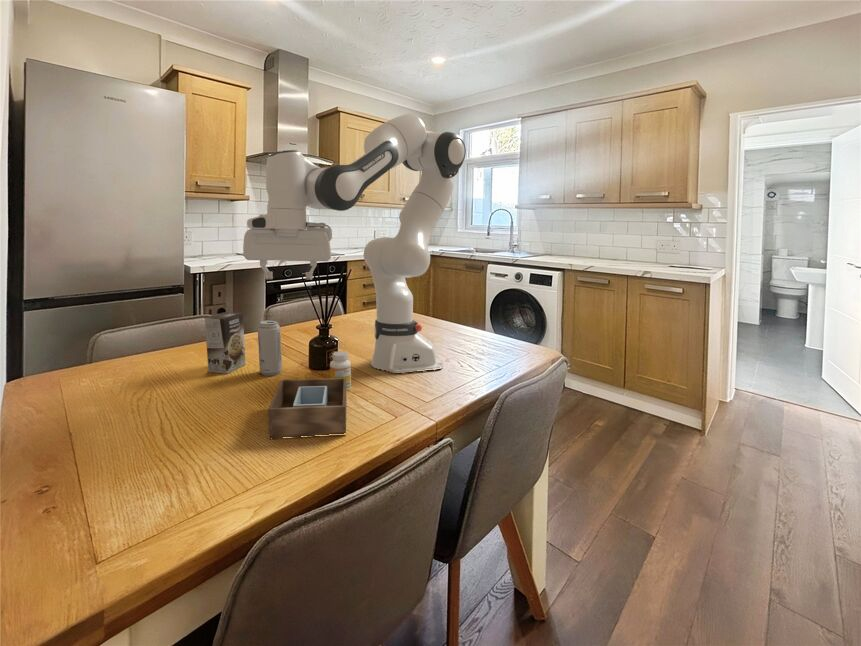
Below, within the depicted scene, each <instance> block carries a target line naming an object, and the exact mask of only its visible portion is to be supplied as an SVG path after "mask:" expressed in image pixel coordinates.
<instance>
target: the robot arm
mask: <svg viewBox="0 0 861 646" xmlns="http://www.w3.org/2000/svg"><path fill="white" fill-rule="evenodd" d="M363 142H364V143H363V150H364V154H363V155H361V156H360V157H359V158H357V159H356V160H354V161H352V162H351V163H349V164H337V165H332V166H328V167H320V166H318V165H316V164H315V163H313V162H311V161H310V160H308V158H306V157H305V156H304V155H303V154H302V152H301V151H299V150H297V149H296V150H295V149H289V150H286V149H285V150H279V151H275V152H272V153H271V154H269V155H268V156H267V159H266V160H267V161H266V168H265V169H266V170H265V188H266V189H265V190H266V193H267V197H268V198H267V199H268V202H267V206H266V211H267V213H266V214H261V215H258V216H255V217H251V218H248V219H247V220H246V226H247V228H249V229H247V230H246V231H245V233H244V236H243V243H242V244H243V245H242V246H243V247H242V249H243V251H242V252H243V253H242V254H243V257H244V258H245V260H246V261H259V265H260V267H261V269H262V271H263V272H264V274H265V277H264V279H265V280H273V279H274V276H273V271H270V270H269V269H268V266H266V265H268V262H269V261H275V262H277V261H279V262H280V261H283V262H284V261H285V262H309V265H310V266H311V269H310V270H309V271H306V272H305V280H306V281H310V280H311V281H312V280H313V273H314V271H315V269H316V267H317V265H318V264H317V263H318V262H329V261H330V260H331V258H332V251H331V250H332V249H331V243H330V241H331V240H332V239H333V230H332V228H331V226H330V225H328V224H326V222H311V221H310V222H307V207H309V208H310V209H313V210H314V209H315V210H334V211H339V212H342V211H343V212H344V211H348V210H350V209H352V208H353V207H354V206H355V205H356V204H357V203H358V201H359V200H360V198H361V196H362V195H363V193H364V192H365V190H366V189H367V188H368V187H369V186H371V185H372V184H373V183H375V181H377V180H378V179H379V178H381V177H382V176H384V175H385V174H386V173H387V172H389V171H390V170H392V169H394V168H396V167H397V166H399V165H401V164H402V165H404V167H405V168H406V169H408V170H410V171H414V172H421V175H420V179H419V182H418V184H417V185H416V186H415V188H414V189H413V191H412V192H411V194H410V196H409V197H408V199H407V201H406V203H405V204H404V206H403V207H402V209H401V211H400V213H399V215H398V220H399V222H400V226H399V230H398V232H397V234H396V235H395V237H390V236H389V237H387V236H382V237H377V238H374V239H371V240H370V241H369V242H367V244H365V245H366V246H365V247H364V249H363V260H364V262H365V264H366V265H367V267H368V268H369V270H370V274H371V277H372V282H373V285H374V289H375V297H376V298H375V299H376V300H375V301H376V305H375V306H376V319H375V322H374V338H375V342H374V349H373V356H372V360H371V362H370V365H371V367H373V368H374V369H376V368H377V370H379V369H381V370H380V371H384V370H387V371H386V372H388V371H390V372H389V373H391V372H393V373H392V374H394V373H402V372H410V371H417V370H425V369H433V368H440V367H442V366H443V367H444V361H443V359H442V358H441V357H440V356H438V355H437V351H436V348H435V345H434V344H433V342H431V341H430V340H429V339H428V338H426V336H424V335H422V334H421V333H420V332H421V331H422V330H423V326H422V325H421V323H419V322H418V321H416V320H415V319H413V316H414V314H413V313H414V312H413V311H414V310H413V308H414V295H413V292H412V291H411V290H410V289H409V287H408V284H407V281H406V278H416V277H420V276H422V275H424V274H425V273H426V272H427V271H428V269H429V267H430V266H431V265H430V264H431V253H430V251H429V242H430V239H431V235H432V233H433V231H434V229H435V228H436V226H437V223H438V222H439V220H440V218H441V217H442V215H443V213H444V211H445V209H446V207H447V206H448V203H449V201H450V199H451V196H452V193H453V190H454V182H453V179H452V178H453V177H455V176H456V175H457V174H458V173H459V170H460V169H461V168H462V166H463V163H464V161H465V158H466V153H467V152H466V150H467V149H466V144H465V142H464V139H463V138H462V136H460V135H459V134H457V133H454V132H451V131H444V132H442V131H429V132H427V128H426V125H425V123H424V122H423V120H422V118H420V117H419V116H417V115H416V114H412V113H407V114H403V115H399V116H396V117H394V118H391V119H390V120H388V121H385V122H383V123H381V124H380V125H379V126H377V127H376V128H374V129H373V130H372V131H370V132H369V133H368V135H366V137H365V138H364V141H363ZM439 364H440V365H439ZM402 374H403V373H402Z"/></svg>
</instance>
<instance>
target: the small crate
mask: <svg viewBox="0 0 861 646" xmlns="http://www.w3.org/2000/svg"><path fill="white" fill-rule="evenodd" d="M315 406H328V403H327V386H306V387H299V388H298V391H297V394H296V398H295V401H294V404H293V407H315Z"/></svg>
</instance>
